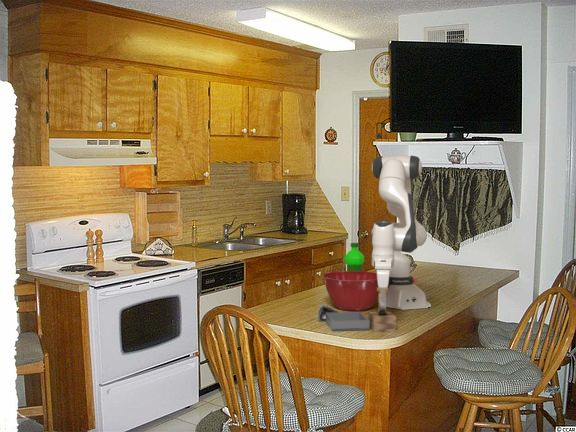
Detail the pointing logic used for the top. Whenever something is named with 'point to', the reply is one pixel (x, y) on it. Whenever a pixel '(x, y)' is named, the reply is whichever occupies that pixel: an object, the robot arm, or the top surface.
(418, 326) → the top surface
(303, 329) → the top surface
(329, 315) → the tray
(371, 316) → the hitch block
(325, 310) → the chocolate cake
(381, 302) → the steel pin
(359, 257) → the plastic bottle
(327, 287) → the mixing bowl
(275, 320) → the top surface
